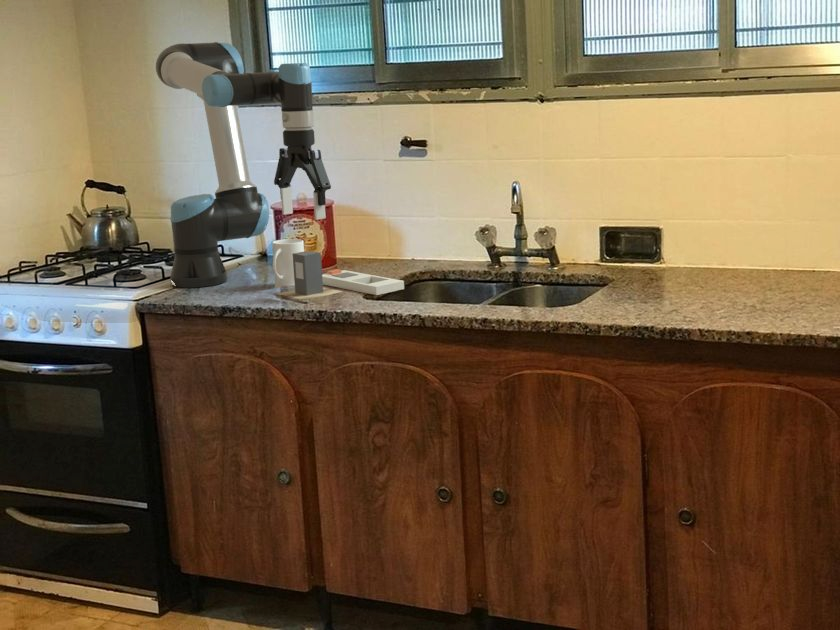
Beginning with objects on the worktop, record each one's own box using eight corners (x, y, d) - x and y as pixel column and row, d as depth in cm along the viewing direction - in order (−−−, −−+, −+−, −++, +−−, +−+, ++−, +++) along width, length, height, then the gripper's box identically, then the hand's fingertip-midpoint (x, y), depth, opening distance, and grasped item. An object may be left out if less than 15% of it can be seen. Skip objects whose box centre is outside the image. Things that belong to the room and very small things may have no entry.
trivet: (276, 297, 259) (275, 293, 259) (314, 289, 267) (314, 285, 267) (304, 304, 250) (304, 300, 250) (343, 295, 258) (343, 291, 258)
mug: (286, 293, 264) (283, 246, 261) (260, 291, 268) (256, 245, 265) (313, 284, 274) (310, 239, 271) (288, 282, 278) (284, 238, 275)
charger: (295, 293, 258) (292, 253, 256) (311, 289, 262) (308, 250, 259) (306, 295, 255) (304, 255, 253) (323, 292, 258) (320, 252, 256)
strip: (304, 284, 274) (303, 269, 273) (331, 278, 280) (330, 264, 279) (376, 298, 252) (375, 283, 252) (404, 292, 258) (403, 277, 257)
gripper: (256, 128, 256) (262, 213, 261) (316, 131, 238) (322, 223, 243) (281, 126, 260) (286, 210, 266) (342, 129, 242) (347, 218, 248)
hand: (303, 216), depth 254 cm, fingers open, 13 cm apart
